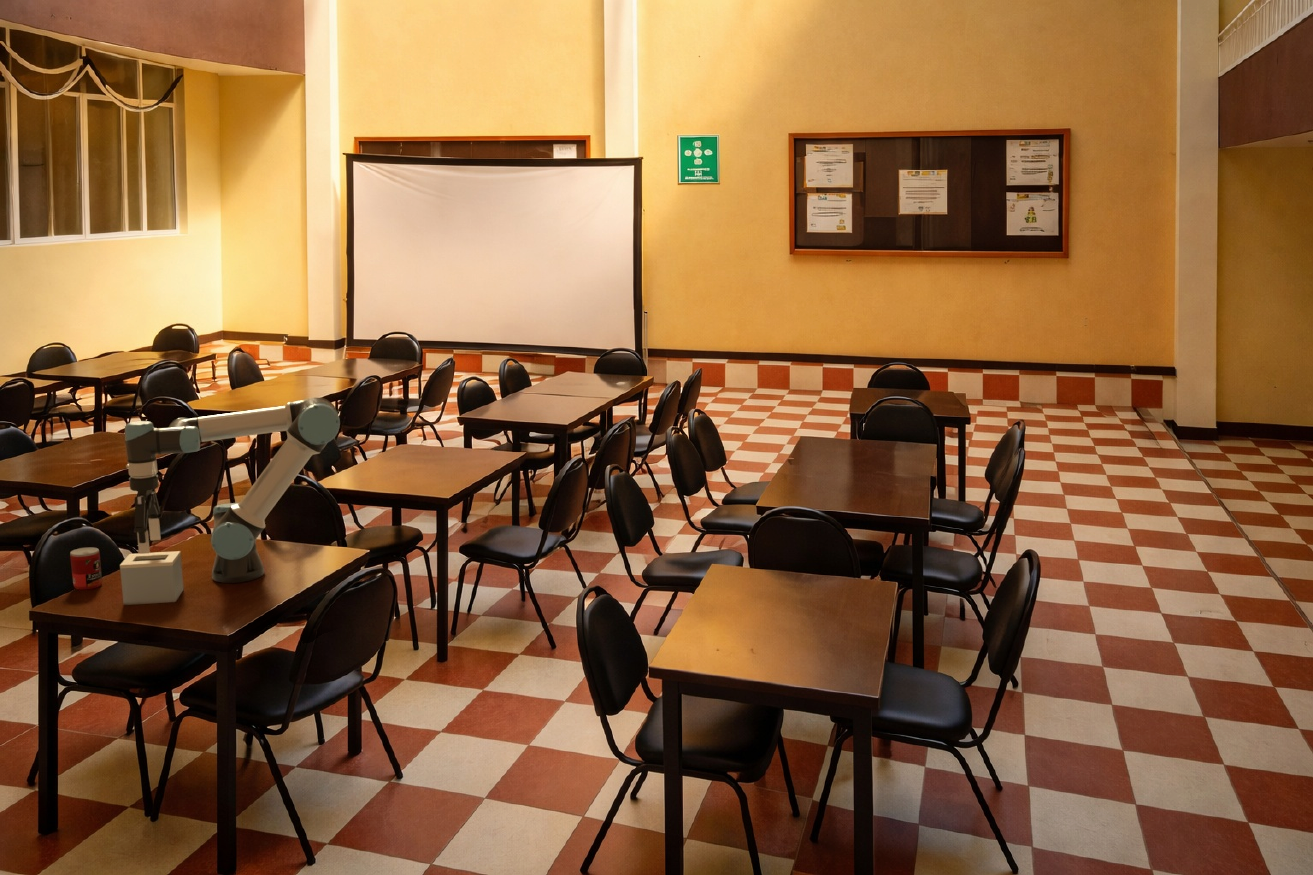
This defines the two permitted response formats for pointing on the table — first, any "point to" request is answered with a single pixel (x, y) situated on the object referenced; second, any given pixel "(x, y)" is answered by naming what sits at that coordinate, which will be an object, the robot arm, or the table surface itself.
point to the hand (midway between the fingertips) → (150, 546)
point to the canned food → (86, 568)
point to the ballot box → (151, 578)
